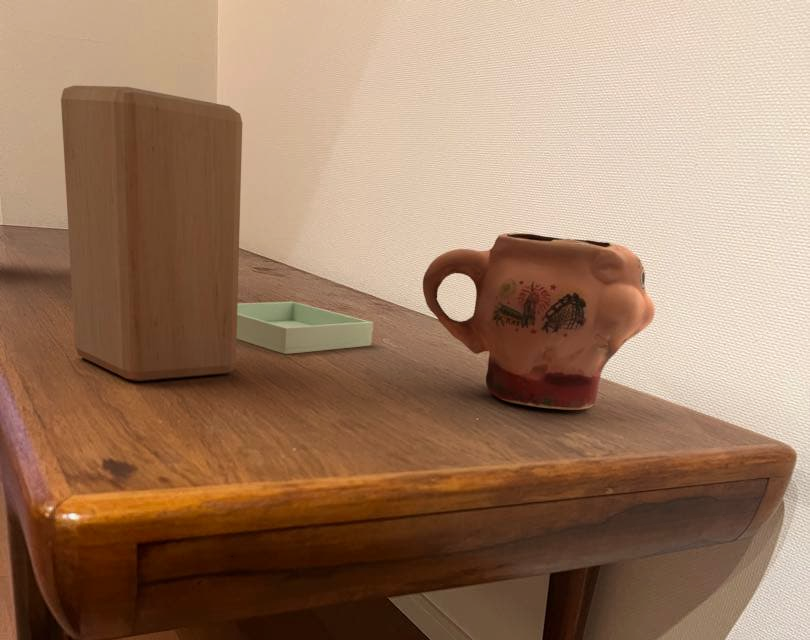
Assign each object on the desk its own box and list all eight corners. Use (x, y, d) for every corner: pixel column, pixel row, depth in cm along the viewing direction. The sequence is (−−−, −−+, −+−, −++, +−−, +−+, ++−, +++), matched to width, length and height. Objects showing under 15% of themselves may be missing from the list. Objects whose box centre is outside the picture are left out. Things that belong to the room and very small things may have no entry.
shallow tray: (204, 328, 83) (204, 304, 82) (292, 323, 92) (293, 301, 91) (284, 354, 76) (286, 328, 75) (371, 345, 85) (373, 322, 84)
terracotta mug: (418, 406, 63) (441, 224, 58) (404, 372, 74) (422, 216, 69) (651, 427, 66) (695, 254, 60) (604, 391, 77) (638, 242, 71)
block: (70, 356, 65) (54, 82, 57) (177, 350, 72) (176, 105, 64) (129, 385, 59) (120, 84, 51) (240, 375, 66) (248, 108, 58)
